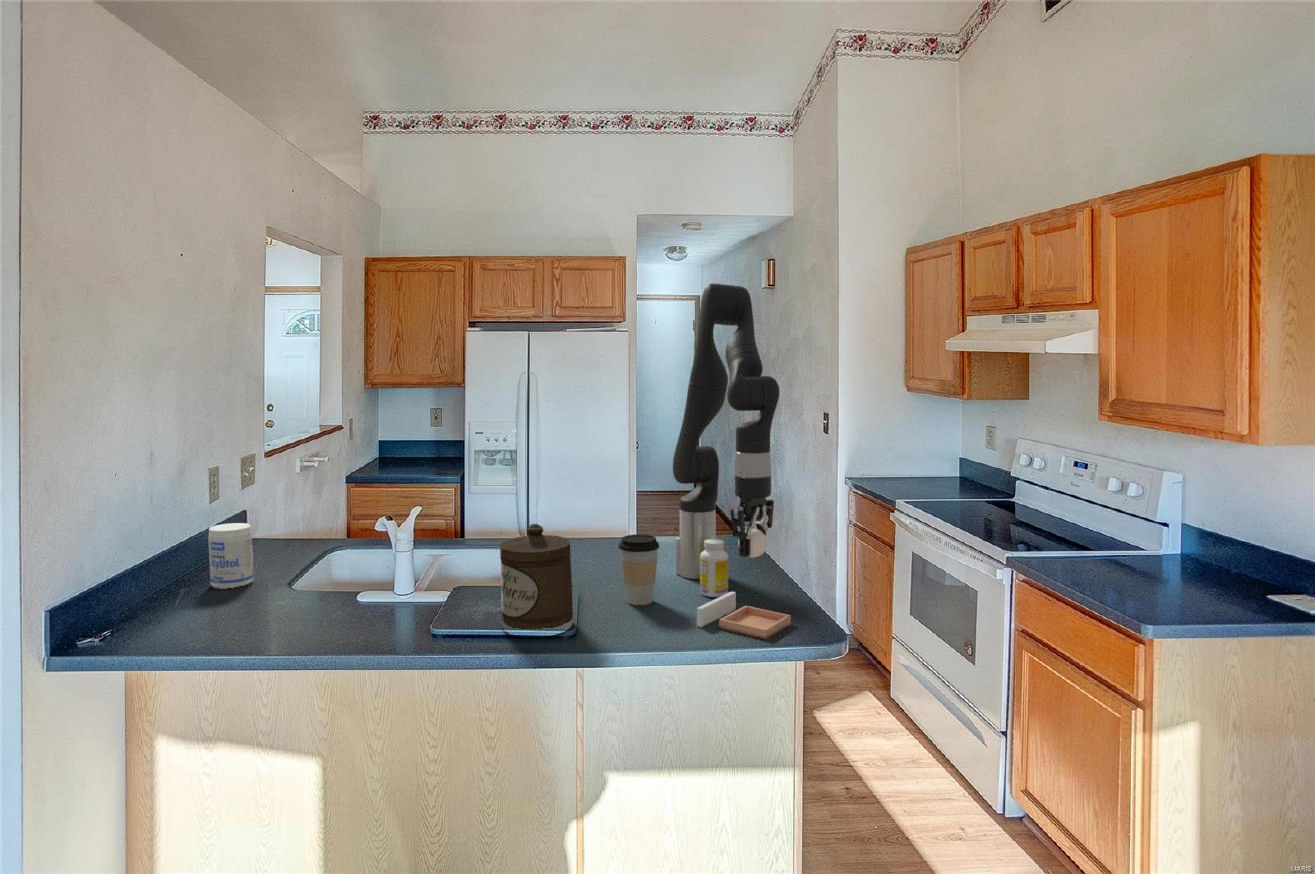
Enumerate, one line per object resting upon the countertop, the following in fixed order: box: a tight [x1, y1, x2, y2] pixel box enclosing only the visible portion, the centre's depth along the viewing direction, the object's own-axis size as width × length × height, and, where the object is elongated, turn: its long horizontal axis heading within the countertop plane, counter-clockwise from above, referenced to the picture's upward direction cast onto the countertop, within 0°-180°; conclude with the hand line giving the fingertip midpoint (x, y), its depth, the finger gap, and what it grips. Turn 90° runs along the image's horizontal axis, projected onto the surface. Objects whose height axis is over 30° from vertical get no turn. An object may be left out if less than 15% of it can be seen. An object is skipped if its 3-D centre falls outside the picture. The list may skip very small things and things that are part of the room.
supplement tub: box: [208, 522, 254, 590], centre depth 202 cm, size 10×10×15 cm
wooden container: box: [499, 523, 574, 629], centre depth 171 cm, size 15×15×22 cm
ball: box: [737, 528, 768, 558], centre depth 169 cm, size 6×6×6 cm
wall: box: [696, 591, 737, 628], centre depth 177 cm, size 1×14×4 cm, turn 144°
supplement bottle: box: [699, 538, 729, 598], centre depth 193 cm, size 7×7×13 cm
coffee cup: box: [617, 533, 660, 606], centre depth 187 cm, size 9×9×15 cm
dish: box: [718, 605, 792, 640], centre depth 171 cm, size 11×11×2 cm
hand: (752, 552), depth 169 cm, fingers closed on ball, 6 cm apart
